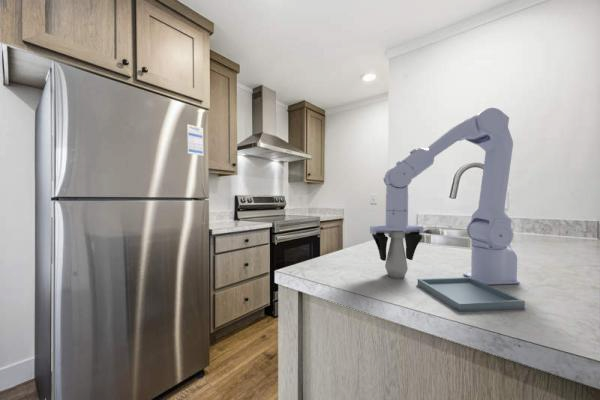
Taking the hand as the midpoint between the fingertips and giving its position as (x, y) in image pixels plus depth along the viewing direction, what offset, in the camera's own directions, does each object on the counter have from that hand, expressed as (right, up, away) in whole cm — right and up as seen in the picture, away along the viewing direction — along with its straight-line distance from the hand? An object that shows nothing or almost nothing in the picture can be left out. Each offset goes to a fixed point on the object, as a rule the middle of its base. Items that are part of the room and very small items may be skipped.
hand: (396, 259), depth 68 cm
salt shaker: (0, -5, 0) cm, 5 cm away
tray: (+10, -5, -13) cm, 17 cm away
